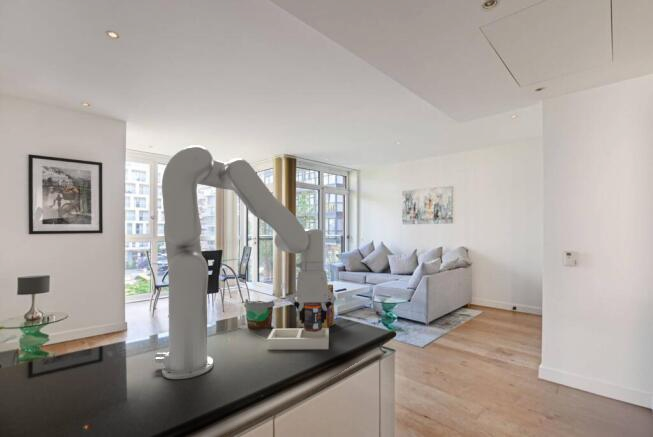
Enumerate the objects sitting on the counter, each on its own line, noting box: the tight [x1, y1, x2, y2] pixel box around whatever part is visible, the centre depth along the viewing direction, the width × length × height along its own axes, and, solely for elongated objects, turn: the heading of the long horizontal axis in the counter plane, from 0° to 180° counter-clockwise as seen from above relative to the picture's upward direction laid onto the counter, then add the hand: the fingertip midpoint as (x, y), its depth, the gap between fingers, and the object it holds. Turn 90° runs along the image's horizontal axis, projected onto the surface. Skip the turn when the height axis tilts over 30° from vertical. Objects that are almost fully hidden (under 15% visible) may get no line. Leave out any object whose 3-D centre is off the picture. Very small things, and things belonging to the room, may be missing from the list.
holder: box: [266, 327, 330, 350], centre depth 101 cm, size 19×10×3 cm, turn 89°
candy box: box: [322, 283, 336, 329], centre depth 118 cm, size 9×4×15 cm, turn 155°
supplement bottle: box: [304, 303, 322, 332], centre depth 102 cm, size 6×6×11 cm
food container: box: [243, 298, 276, 331], centre depth 118 cm, size 12×6×10 cm, turn 73°
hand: (313, 321), depth 102 cm, fingers closed on supplement bottle, 6 cm apart
